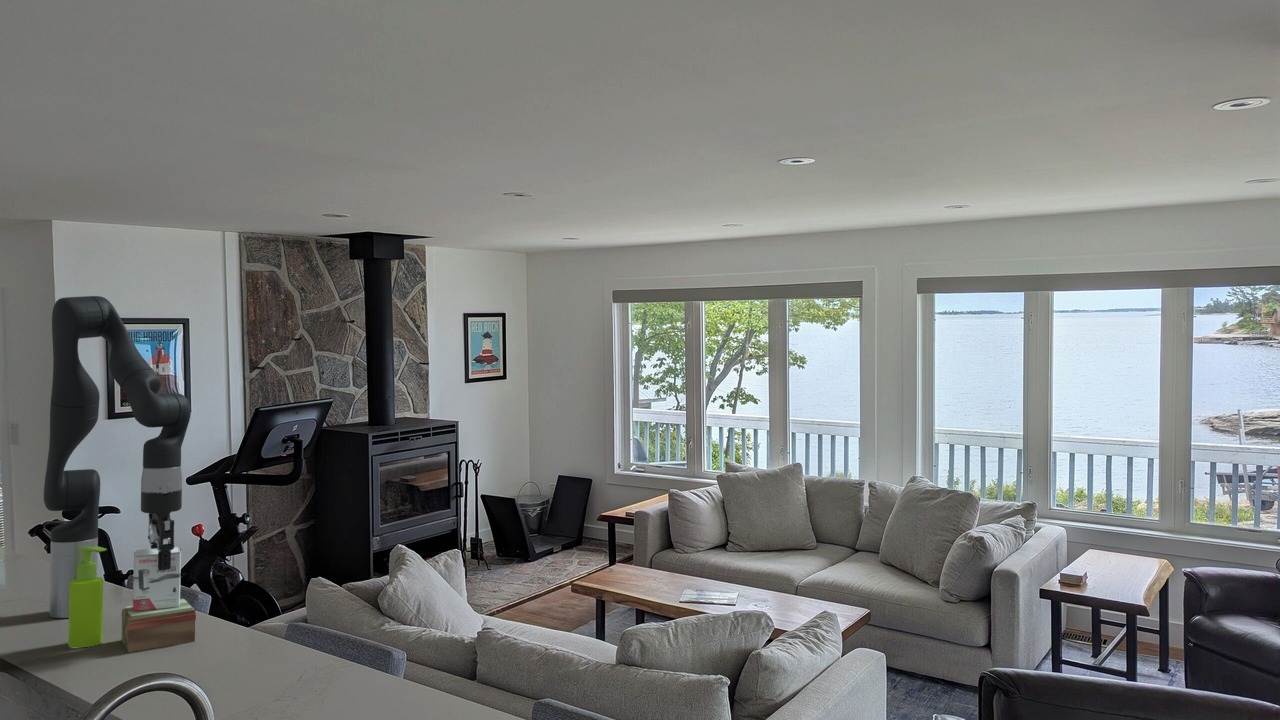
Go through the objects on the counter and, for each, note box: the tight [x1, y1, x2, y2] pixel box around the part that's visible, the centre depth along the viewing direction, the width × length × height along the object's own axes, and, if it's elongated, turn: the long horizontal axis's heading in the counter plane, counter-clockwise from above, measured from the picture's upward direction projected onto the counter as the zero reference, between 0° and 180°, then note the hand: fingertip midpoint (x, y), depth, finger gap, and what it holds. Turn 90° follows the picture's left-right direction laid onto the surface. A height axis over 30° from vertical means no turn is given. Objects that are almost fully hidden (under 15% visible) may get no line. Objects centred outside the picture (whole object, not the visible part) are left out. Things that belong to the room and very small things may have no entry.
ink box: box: [132, 546, 182, 612], centre depth 180 cm, size 9×5×12 cm, turn 120°
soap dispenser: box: [67, 545, 108, 648], centre depth 177 cm, size 6×7×20 cm
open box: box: [121, 598, 197, 653], centre depth 180 cm, size 11×12×7 cm
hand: (160, 565), depth 180 cm, fingers open, 8 cm apart
